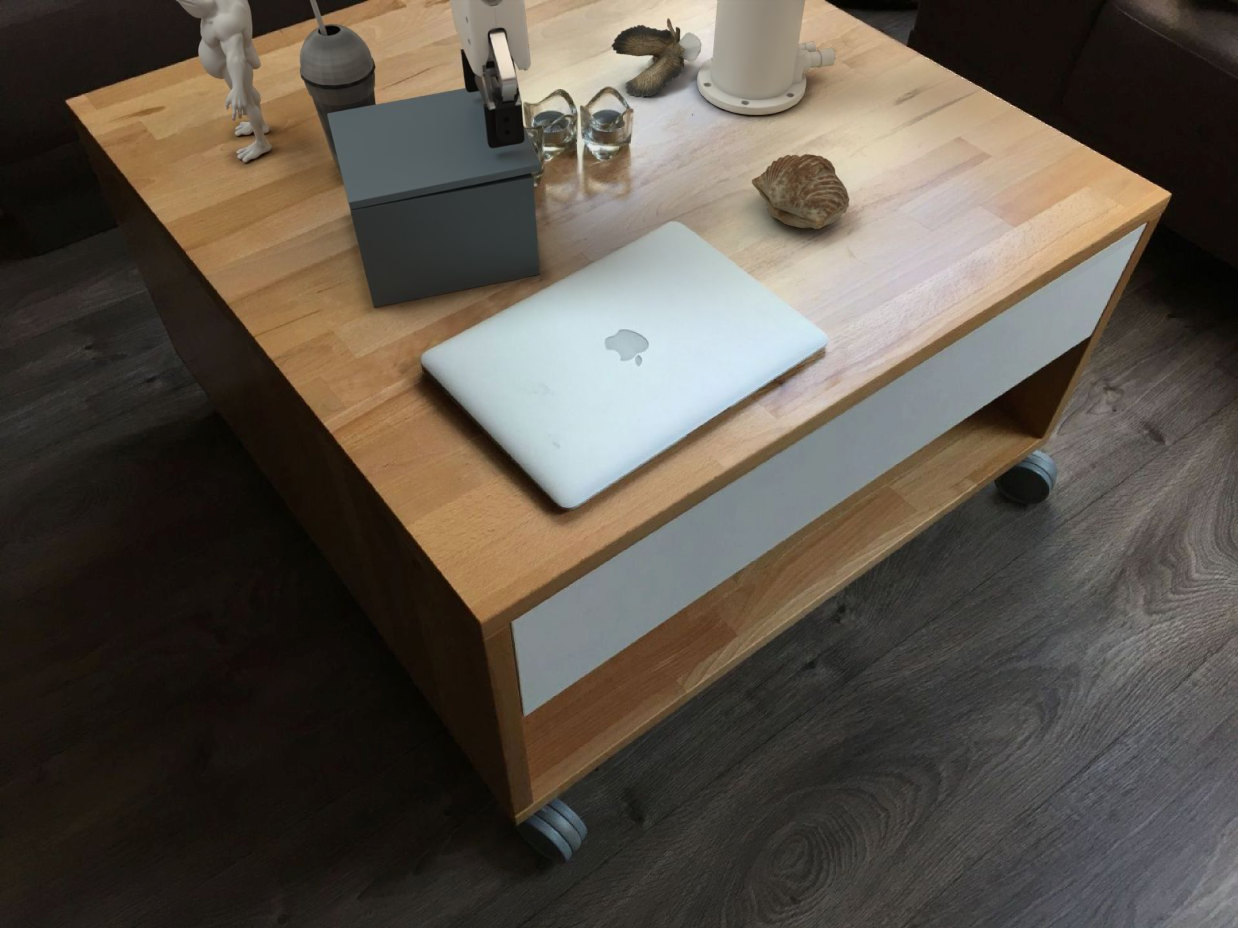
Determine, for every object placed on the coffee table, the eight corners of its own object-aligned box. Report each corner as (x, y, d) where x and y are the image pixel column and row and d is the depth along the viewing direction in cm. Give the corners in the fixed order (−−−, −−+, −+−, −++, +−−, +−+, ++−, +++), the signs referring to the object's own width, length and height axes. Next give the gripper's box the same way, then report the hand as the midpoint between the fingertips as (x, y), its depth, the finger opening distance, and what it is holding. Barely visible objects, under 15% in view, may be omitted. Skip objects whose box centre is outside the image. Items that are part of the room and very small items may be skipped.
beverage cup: (381, 194, 106) (341, 5, 90) (314, 185, 107) (264, -3, 91) (404, 154, 110) (370, -32, 95) (340, 146, 111) (296, -40, 96)
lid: (504, 88, 98) (498, 38, 94) (542, 171, 89) (537, 121, 85) (328, 121, 95) (315, 71, 91) (350, 210, 86) (336, 159, 82)
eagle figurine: (650, 40, 123) (598, 54, 118) (683, 0, 118) (630, 13, 112) (683, 94, 123) (632, 110, 118) (717, 57, 118) (666, 72, 112)
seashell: (802, 259, 101) (855, 220, 104) (812, 204, 95) (868, 165, 98) (735, 211, 105) (788, 175, 108) (740, 156, 99) (796, 120, 102)
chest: (506, 190, 106) (496, 94, 98) (540, 274, 98) (533, 177, 89) (352, 218, 103) (328, 121, 95) (373, 307, 95) (350, 210, 86)
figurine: (220, 103, 116) (167, -59, 102) (280, 95, 117) (236, -67, 103) (225, 196, 105) (167, 29, 91) (292, 186, 107) (244, 19, 93)
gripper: (550, -43, 74) (560, 163, 87) (496, -136, 84) (512, 60, 98) (448, -28, 72) (474, 178, 86) (405, -125, 83) (434, 73, 96)
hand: (494, 115), depth 92 cm, fingers open, 8 cm apart
